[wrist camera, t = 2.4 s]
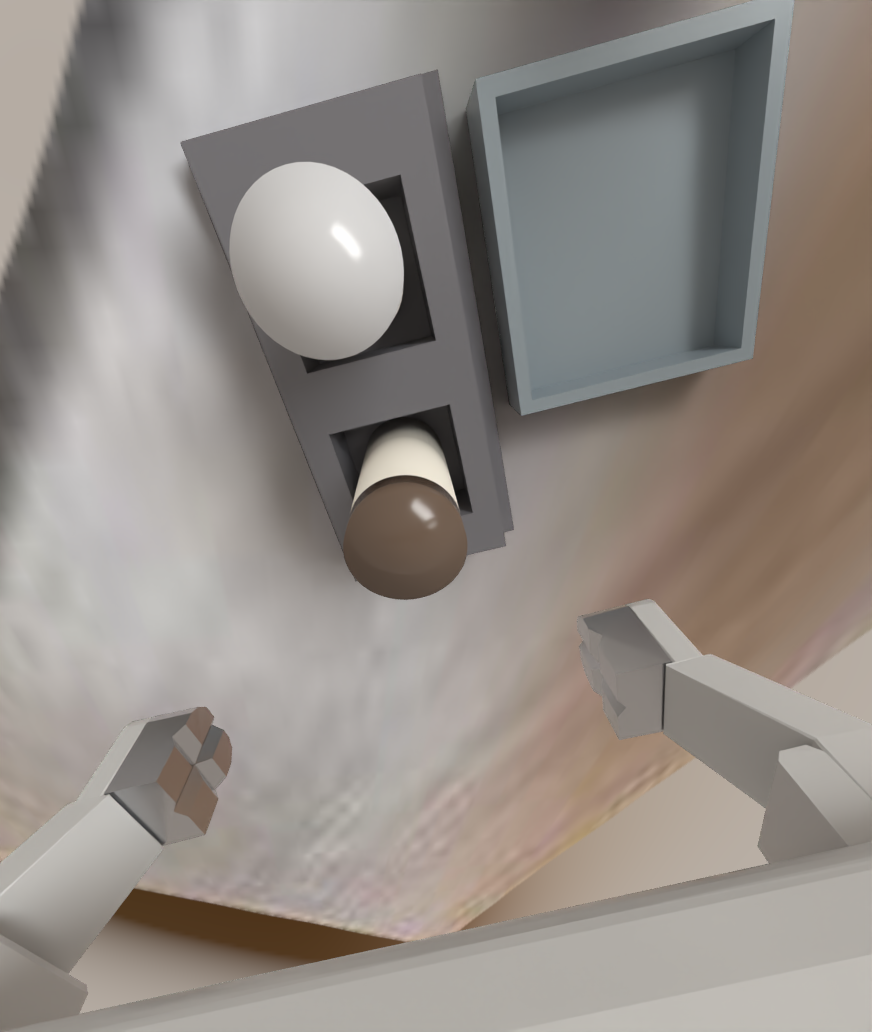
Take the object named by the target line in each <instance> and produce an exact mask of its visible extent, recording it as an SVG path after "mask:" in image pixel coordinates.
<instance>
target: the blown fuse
mask: <svg viewBox="0 0 872 1032" xmlns="http://www.w3.org/2000/svg"><path fill="white" fill-rule="evenodd" d="M343 552H344V558H345V561H346V564H347V566H348V568H349V570H350V572H351V573H352V575H353V576H354V577H355V578H356V580H357V581H358V582H359V583H360V584H362V585H363V586H364V587H366V588H367V589H369V590H370V591H372V592H374V593H376V594H378V595H381V596H384V597H388V598H393V599H404V600H407V599H417V598H422V597H425V596H429V595H431V594H434V593H436V592H438V591H439V590H441V589H443V588H444V587H446V586H447V585H448V584H449V583H450V582H452V581H453V580H454V578H455V577H456V576H457V575H458V573H459V572H460V570H461V569H462V567H463V565H464V562H465V559H466V556H467V536H466V532H465V529H464V525H463V521H462V518H461V514H460V510H459V507H458V503H457V499H456V496H455V492H454V489H453V485H452V481H451V478H450V474H449V470H448V467H447V463H446V459H445V456H444V452H443V448H442V445H441V442H440V439H439V437H438V436H437V434H436V433H435V431H434V430H433V429H432V428H431V427H430V426H429V425H427V424H426V423H424V422H422V421H420V420H417V419H414V418H409V417H399V418H394V419H391V420H388V421H386V422H384V423H383V424H381V425H380V426H379V427H378V428H377V429H376V430H375V431H374V432H373V434H372V435H371V437H370V439H369V442H368V445H367V449H366V452H365V456H364V460H363V464H362V468H361V472H360V476H359V480H358V484H357V488H356V492H355V496H354V500H353V504H352V508H351V512H350V516H349V520H348V524H347V528H346V532H345V536H344V542H343Z"/></svg>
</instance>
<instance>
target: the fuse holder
mask: <svg viewBox="0 0 872 1032" xmlns="http://www.w3.org/2000/svg"><path fill="white" fill-rule="evenodd" d="M181 146H182V148H183V151H184V153H185V156H186V158H187V161H188V163H189V166H190V168H191V171H192V173H193V176H194V178H195V181H196V184H197V186H198V189H199V191H200V194H201V196H202V199H203V201H204V204H205V206H206V209H207V211H208V214H209V216H210V219H211V221H212V224H213V226H214V229H215V231H216V234H217V236H218V239H219V241H220V244H221V246H222V249H223V251H224V254H225V256H226V259H227V261H228V264H229V266H230V269H231V264H230V254H229V246H230V233H231V226H232V223H233V219H234V215H235V213H236V210H237V208H238V206H239V203H240V202H241V200H242V198H243V197H244V195H245V193H246V192H247V191H248V190H249V188H250V187H251V186H252V185H253V184H254V183H255V182H256V181H257V180H258V179H259V178H260V177H262V176H263V175H264V174H266V173H268V172H269V171H271V170H273V169H274V168H277V167H280V166H282V165H285V164H290V163H295V162H315V163H322V164H325V165H329V166H332V167H335V168H337V169H339V170H341V171H343V172H346V173H347V174H349V175H350V176H352V177H354V178H355V179H357V180H358V181H359V182H360V183H362V184H363V185H364V186H365V187H366V188H367V189H368V190H369V191H370V192H371V193H372V194H373V195H374V196H375V197H376V198H377V199H378V201H379V202H380V204H381V205H382V207H383V208H384V209H385V211H386V213H387V214H388V216H389V218H390V220H391V222H392V224H393V226H394V229H395V231H396V233H397V236H398V240H399V243H400V247H401V251H402V257H403V267H404V282H403V297H402V302H401V305H400V308H399V310H398V312H397V314H396V316H395V317H394V319H393V321H392V322H391V324H390V325H389V327H388V329H387V330H386V331H385V332H384V334H383V335H382V336H381V337H380V338H379V339H378V340H377V341H376V342H375V343H374V344H373V345H371V346H370V347H368V348H367V349H366V350H364V351H362V352H360V353H358V354H356V355H353V356H350V357H347V358H343V359H337V360H320V359H313V358H309V357H305V356H302V355H299V354H296V353H294V352H292V351H290V350H288V349H286V348H284V347H283V346H281V345H280V344H278V343H277V342H275V341H274V340H273V339H272V338H271V337H269V336H268V335H267V334H266V333H265V332H264V331H263V330H262V329H261V328H260V327H259V326H258V325H257V323H256V322H255V321H254V319H253V318H252V317H251V315H250V314H249V312H248V310H247V312H248V314H249V317H250V319H251V322H252V324H253V327H254V329H255V332H256V334H257V337H258V339H259V342H260V344H261V347H262V349H263V352H264V354H265V357H266V359H267V362H268V364H269V367H270V370H271V372H272V375H273V377H274V380H275V382H276V385H277V387H278V390H279V392H280V395H281V397H282V400H283V402H284V405H285V407H286V410H287V412H288V415H289V417H290V420H291V422H292V425H293V427H294V430H295V432H296V435H297V437H298V440H299V442H300V445H301V447H302V450H303V452H304V455H305V457H306V460H307V463H308V465H309V468H310V470H311V473H312V475H313V478H314V480H315V483H316V485H317V488H318V490H319V493H320V495H321V498H322V500H323V503H324V505H325V508H326V510H327V513H328V515H329V518H330V520H331V523H332V525H333V528H334V530H335V533H336V535H337V538H338V540H339V543H340V545H341V548H342V550H343V542H344V536H345V532H346V528H347V524H348V520H349V516H350V512H351V508H352V504H353V500H354V496H355V492H356V488H357V484H358V480H359V476H360V472H361V468H362V464H363V460H364V456H365V452H366V449H367V445H368V442H369V439H370V437H371V435H372V434H373V432H374V431H375V430H376V429H377V428H378V427H379V426H380V425H381V424H383V423H384V422H386V421H388V420H391V419H394V418H399V417H409V418H414V419H417V420H420V421H422V422H424V423H426V424H427V425H429V426H430V427H431V428H432V429H433V430H434V431H435V433H436V434H437V436H438V437H439V439H440V442H441V445H442V448H443V452H444V456H445V459H446V463H447V467H448V470H449V474H450V478H451V481H452V485H453V489H454V492H455V496H456V499H457V503H458V507H459V510H460V514H461V518H462V521H463V525H464V529H465V532H466V536H467V555H470V554H474V553H478V552H482V551H487V550H491V549H495V548H500V547H504V546H506V543H505V537H504V532H507V531H511V530H514V527H513V521H512V515H511V508H510V502H509V496H508V490H507V484H506V478H505V472H504V466H503V460H502V454H501V448H500V442H499V436H498V430H497V424H496V418H495V412H494V406H493V400H492V394H491V388H490V382H489V376H488V370H487V364H486V358H485V352H484V346H483V340H482V334H481V327H480V321H479V315H478V309H477V303H476V297H475V291H474V285H473V279H472V273H471V267H470V261H469V255H468V249H467V243H466V237H465V231H464V225H463V219H462V213H461V207H460V201H459V195H458V189H457V183H456V177H455V171H454V165H453V159H452V153H451V147H450V140H449V134H448V128H447V122H446V116H445V110H444V104H443V98H442V92H441V86H440V80H439V74H438V70H434V71H431V72H427V73H424V74H418V75H414V76H411V77H407V78H404V79H400V80H397V81H393V82H389V83H386V84H382V85H379V86H375V87H372V88H368V89H365V90H361V91H358V92H354V93H351V94H347V95H344V96H340V97H337V98H333V99H330V100H326V101H323V102H319V103H316V104H312V105H309V106H305V107H302V108H298V109H295V110H291V111H288V112H284V113H281V114H277V115H274V116H270V117H266V118H263V119H259V120H256V121H252V122H249V123H245V124H242V125H238V126H235V127H231V128H228V129H224V130H221V131H217V132H214V133H210V134H207V135H203V136H200V137H196V138H193V139H189V140H186V141H182V142H181ZM231 271H232V270H231ZM343 553H344V552H343ZM354 579H355V581H357V580H356V578H355V577H354Z"/></svg>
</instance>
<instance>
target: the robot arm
mask: <svg viewBox="0 0 872 1032" xmlns="http://www.w3.org/2000/svg"><path fill="white" fill-rule="evenodd" d="M577 628H578V632H579V634H580V636H581V637H582V639H583V641H582V643H581V644H580V646H579V648H580V655H581V660H582V664H583V668H584V671H585V674H586V676H587V678H588V681H589V683H590V685H591V687H592V689H593V691H594V692H596V693H597V694H599V695H601V696H602V700H603V710H604V712H605V714H606V716H607V718H608V720H609V722H610V724H611V726H612V727H613V729H614V731H615V733H616V735H617V737H618V739H619V740H622V739H627V738H632V737H637V736H642V735H647V734H652V733H657V732H662V731H664V734H665V735H666V736H667V737H669V738H670V739H671V740H673V741H674V742H676V743H677V744H678V745H680V746H681V747H682V748H684V749H685V750H687V751H688V752H689V753H691V754H692V755H693V756H695V757H696V758H697V759H699V760H700V761H702V762H703V763H705V764H706V765H707V766H708V767H710V768H711V769H712V770H714V771H715V772H717V773H718V774H719V775H721V776H722V777H723V778H725V779H726V780H727V781H729V782H730V783H732V784H733V785H735V786H736V787H737V788H738V789H740V790H741V791H743V792H744V793H745V794H747V795H748V796H749V797H751V798H752V799H754V800H755V801H756V802H758V803H759V804H760V805H762V806H763V807H764V808H766V811H765V815H764V820H763V824H762V829H761V833H760V838H759V842H758V848H759V849H760V851H761V852H762V854H763V855H764V857H765V858H766V860H767V861H768V863H769V864H765V865H761V866H756V867H751V868H747V869H742V870H738V871H733V872H728V873H724V874H720V875H715V876H710V877H706V878H701V879H696V880H692V881H687V882H683V883H678V884H674V885H669V886H664V887H660V888H655V889H650V890H646V891H642V892H637V893H632V894H627V895H623V896H618V897H614V898H609V899H604V900H601V901H595V902H591V903H587V904H582V905H577V906H573V907H568V908H563V909H558V910H554V911H550V912H545V913H540V914H536V915H531V916H526V917H522V918H517V919H513V920H508V921H503V922H499V923H495V924H490V925H485V926H480V927H476V928H472V929H467V930H462V931H457V932H453V933H448V934H444V935H439V936H434V937H430V938H425V939H421V940H416V941H412V942H407V943H402V944H398V945H393V946H389V947H384V948H379V949H375V950H370V951H366V952H361V953H356V954H352V955H347V956H343V957H338V958H334V959H329V960H324V961H320V962H316V963H310V964H306V965H301V966H297V967H292V968H287V969H283V970H278V971H274V972H269V973H265V974H260V975H255V976H251V977H246V978H242V979H237V980H232V981H228V982H223V983H219V984H214V985H210V986H205V987H200V988H196V989H191V990H187V991H182V992H178V993H173V994H168V995H164V996H159V997H155V998H150V999H145V1000H141V1001H136V1002H132V1003H127V1004H123V1005H118V1006H113V1007H109V1008H104V1009H100V1010H96V1011H90V1012H86V1013H82V1014H79V1013H80V1010H81V1008H82V1006H83V1004H84V1001H85V999H86V997H87V995H88V991H87V985H86V984H84V983H83V982H81V981H79V980H78V979H76V978H74V977H72V976H71V975H69V972H70V971H71V970H72V968H73V967H74V966H75V964H76V963H77V962H78V960H79V959H80V958H81V956H82V955H83V954H84V952H85V951H86V950H87V949H88V947H89V946H90V945H91V943H92V942H93V941H94V939H95V938H96V937H97V935H98V934H99V933H100V931H101V930H102V929H103V928H104V926H105V925H106V924H107V922H108V921H109V920H110V918H111V917H112V916H113V914H114V913H115V912H116V910H117V909H118V908H119V906H120V905H121V904H122V903H123V901H124V900H125V899H126V897H127V896H128V895H129V893H130V892H131V891H132V890H133V888H134V887H135V886H136V884H137V883H138V882H139V880H140V879H141V878H142V876H143V875H144V874H145V873H146V871H147V870H148V869H149V867H150V866H151V865H152V863H153V862H154V861H155V859H156V858H157V857H158V855H159V854H160V853H161V852H162V850H163V849H164V847H163V846H164V845H168V844H172V843H176V842H179V841H183V840H187V839H191V838H195V837H198V836H202V835H205V834H206V831H207V828H208V826H209V823H210V820H211V817H212V815H213V812H214V809H215V807H216V804H217V801H218V797H217V793H216V790H215V789H216V788H217V787H218V786H219V785H220V783H221V782H222V781H223V780H224V779H225V778H226V776H227V773H228V771H229V768H230V765H231V756H232V746H231V743H230V739H229V737H228V735H227V734H226V733H225V731H224V730H222V729H220V728H218V727H216V726H213V725H212V724H213V720H214V716H213V715H212V714H211V712H210V711H209V710H208V709H207V707H196V708H192V709H187V710H182V711H177V712H173V713H168V714H163V715H158V716H155V717H151V718H147V719H142V720H137V721H133V722H131V723H130V724H129V725H127V726H126V727H124V729H123V730H122V732H121V733H120V735H119V736H118V738H117V739H116V741H115V742H114V744H113V745H112V747H111V748H110V750H109V751H108V753H107V755H106V756H105V758H104V759H103V761H102V762H101V764H100V765H99V767H98V768H97V770H96V771H95V773H94V774H93V776H92V777H91V779H90V780H89V782H88V783H87V785H86V786H85V788H84V789H83V791H82V792H81V794H80V796H79V797H78V799H77V800H76V802H73V803H69V804H67V805H66V806H65V807H64V808H62V809H61V810H60V811H59V812H58V813H57V814H56V815H54V816H53V817H52V818H51V819H50V820H49V821H47V822H46V823H45V824H44V825H43V826H42V827H41V828H39V829H38V830H37V831H36V832H35V833H34V834H33V835H31V836H30V837H29V838H28V839H27V840H26V841H25V842H23V843H22V844H21V845H20V846H19V847H18V848H17V849H15V850H14V851H13V852H12V853H11V854H10V855H9V856H7V857H6V858H5V859H4V860H3V861H2V862H1V863H0V1032H872V724H870V723H868V722H866V721H864V720H862V719H859V718H857V717H854V716H852V715H850V714H848V713H845V712H843V711H841V710H839V709H836V708H834V707H832V706H829V705H827V704H825V703H822V702H820V701H818V700H816V699H813V698H811V697H809V696H806V695H804V694H802V693H800V692H797V691H795V690H793V689H790V688H788V687H786V686H783V685H781V684H779V683H777V682H774V681H772V680H770V679H767V678H765V677H763V676H760V675H758V674H756V673H754V672H751V671H749V670H747V669H744V668H742V667H740V666H738V665H735V664H733V663H731V662H728V661H726V660H724V659H721V658H719V657H717V656H715V655H712V654H708V655H702V654H701V653H700V652H699V651H698V649H697V648H696V647H695V646H694V645H693V644H692V643H691V642H690V640H689V639H688V638H687V637H686V636H685V635H684V634H683V633H682V632H681V630H680V629H679V628H678V627H677V626H676V625H675V624H674V623H673V622H672V620H671V619H670V618H669V617H668V616H667V615H666V614H665V613H664V611H663V610H662V609H661V608H660V607H659V606H658V605H657V604H656V603H655V601H653V600H651V599H645V600H641V601H637V602H633V603H629V604H626V605H625V606H624V605H622V606H618V607H614V608H610V609H606V610H602V611H598V612H594V613H590V614H586V615H582V616H578V619H577Z"/></svg>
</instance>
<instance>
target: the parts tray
mask: <svg viewBox="0 0 872 1032" xmlns="http://www.w3.org/2000/svg"><path fill="white" fill-rule="evenodd" d="M794 1H795V0H753V1H749V2H746V3H742V4H739V5H735V6H732V7H728V8H725V9H721V10H718V11H714V12H711V13H707V14H703V15H700V16H696V17H693V18H689V19H686V20H682V21H679V22H675V23H672V24H668V25H664V26H661V27H657V28H654V29H650V30H647V31H643V32H640V33H636V34H633V35H629V36H626V37H622V38H618V39H615V40H611V41H608V42H604V43H601V44H597V45H594V46H590V47H587V48H583V49H580V50H576V51H572V52H569V53H565V54H562V55H558V56H555V57H551V58H548V59H544V60H541V61H537V62H534V63H530V64H526V65H523V66H519V67H516V68H512V69H509V70H505V71H502V72H498V73H495V74H491V75H487V76H484V77H480V78H477V79H475V82H474V85H473V88H472V91H471V95H470V98H469V101H468V104H467V107H466V113H467V120H468V127H469V134H470V141H471V147H472V154H473V161H474V168H475V174H476V181H477V188H478V195H479V202H480V208H481V215H482V222H483V229H484V235H485V242H486V249H487V256H488V262H489V269H490V276H491V283H492V290H493V296H494V303H495V310H496V317H497V323H498V330H499V337H500V344H501V350H502V357H503V364H504V371H505V378H506V384H507V391H508V398H509V405H510V406H512V407H513V408H514V409H515V410H516V411H517V412H518V413H519V414H520V415H521V416H523V415H527V414H531V413H535V412H539V411H543V410H547V409H551V408H555V407H559V406H563V405H567V404H571V403H575V402H579V401H583V400H587V399H591V398H595V397H599V396H604V395H608V394H612V393H616V392H620V391H624V390H628V389H632V388H636V387H640V386H644V385H648V384H652V383H656V382H660V381H664V380H668V379H672V378H676V377H680V376H684V375H688V374H692V373H696V372H700V371H704V370H709V369H713V368H717V367H721V366H725V365H729V364H733V363H737V362H741V361H745V360H749V359H753V352H754V344H755V335H756V327H757V318H758V309H759V301H760V292H761V284H762V275H763V267H764V258H765V249H766V241H767V232H768V224H769V215H770V207H771V198H772V189H773V181H774V172H775V164H776V155H777V147H778V138H779V129H780V121H781V112H782V104H783V95H784V87H785V78H786V69H787V61H788V52H789V44H790V35H791V27H792V18H793V9H794Z"/></svg>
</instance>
